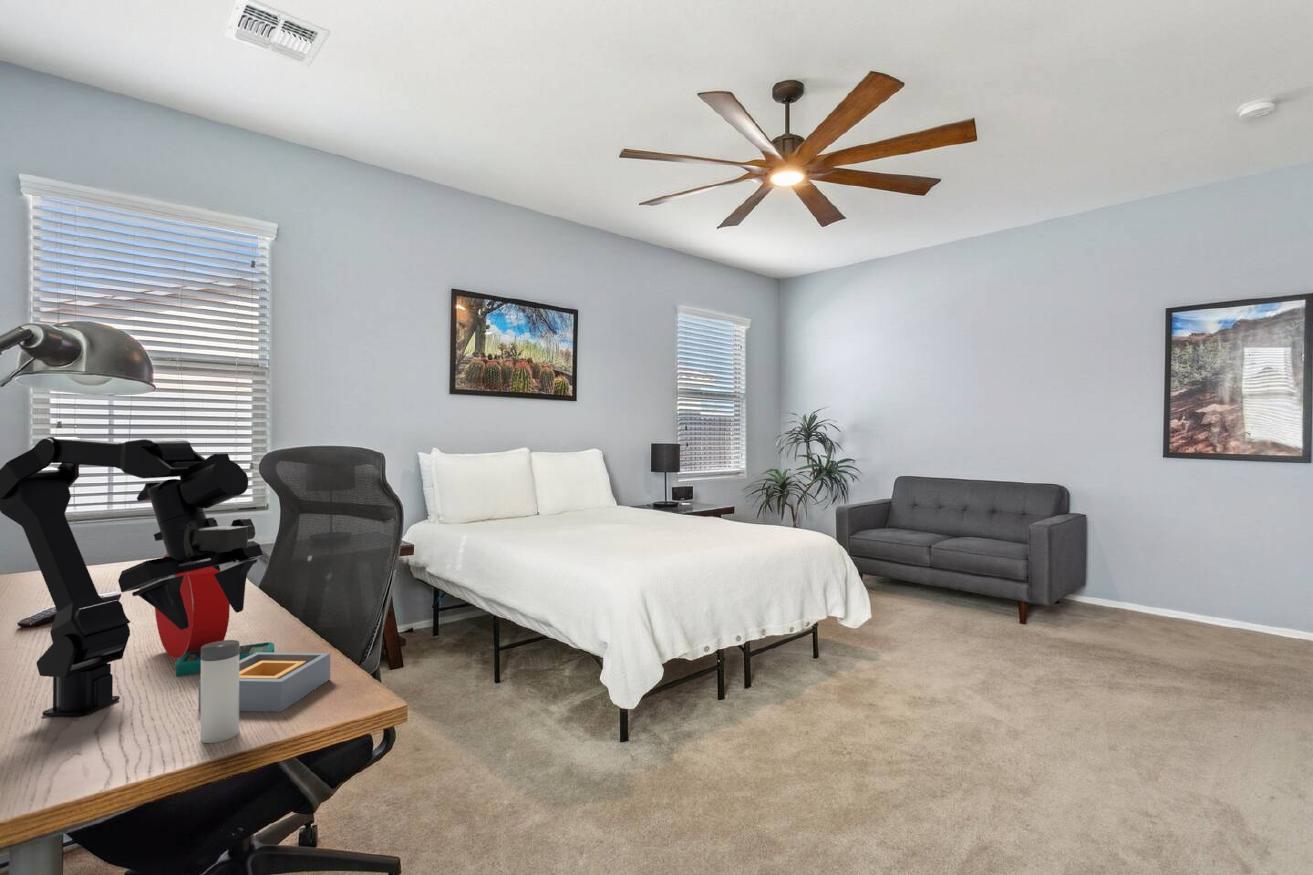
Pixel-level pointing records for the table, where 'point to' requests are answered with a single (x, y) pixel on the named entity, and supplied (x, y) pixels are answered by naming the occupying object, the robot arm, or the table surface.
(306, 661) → the box
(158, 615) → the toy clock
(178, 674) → the digital multimeter
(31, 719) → the table surface
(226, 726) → the grey capped shaker bottle
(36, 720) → the table surface
